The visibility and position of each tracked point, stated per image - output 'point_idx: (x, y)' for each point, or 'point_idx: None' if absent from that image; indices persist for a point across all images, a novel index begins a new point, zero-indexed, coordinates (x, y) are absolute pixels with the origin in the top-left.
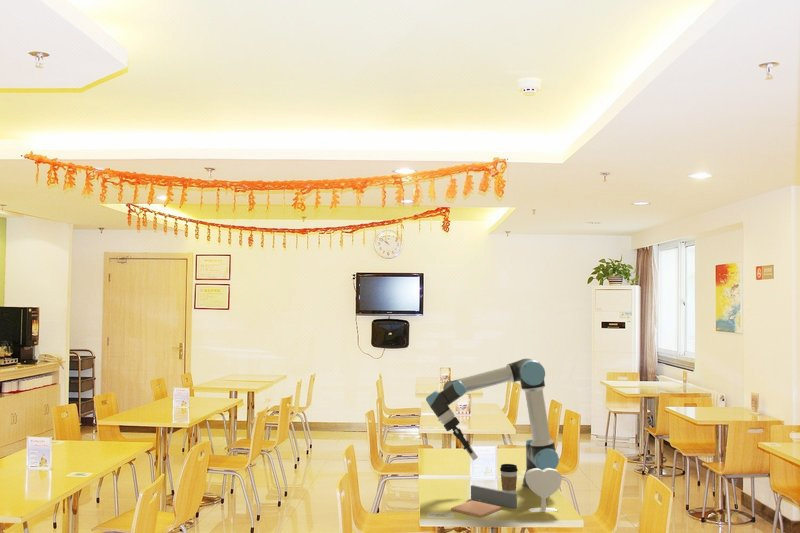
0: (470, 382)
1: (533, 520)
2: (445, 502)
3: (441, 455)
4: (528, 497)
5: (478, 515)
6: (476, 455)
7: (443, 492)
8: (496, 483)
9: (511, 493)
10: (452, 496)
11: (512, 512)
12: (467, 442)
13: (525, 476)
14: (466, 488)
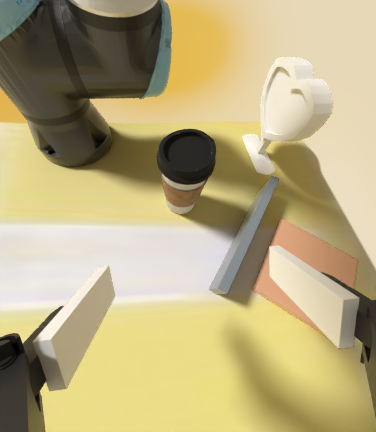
0: None
1: (321, 173)
2: (274, 375)
3: None
4: None
5: (354, 267)
6: (287, 252)
7: (159, 405)
8: (48, 225)
9: (272, 185)
10: (204, 358)
11: (292, 201)
12: (15, 356)
13: (308, 125)
14: None
